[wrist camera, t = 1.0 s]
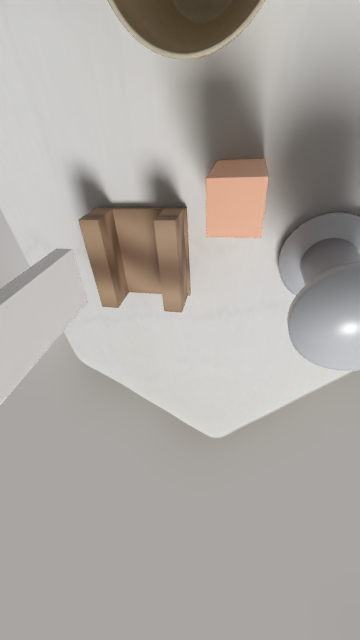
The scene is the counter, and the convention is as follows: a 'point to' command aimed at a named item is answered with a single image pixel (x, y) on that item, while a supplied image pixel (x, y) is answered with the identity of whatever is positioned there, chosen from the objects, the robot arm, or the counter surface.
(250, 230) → the peach rectangular block
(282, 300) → the counter surface
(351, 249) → the bobbin
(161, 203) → the counter surface
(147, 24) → the flower pot
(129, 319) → the counter surface
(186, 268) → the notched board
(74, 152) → the counter surface
